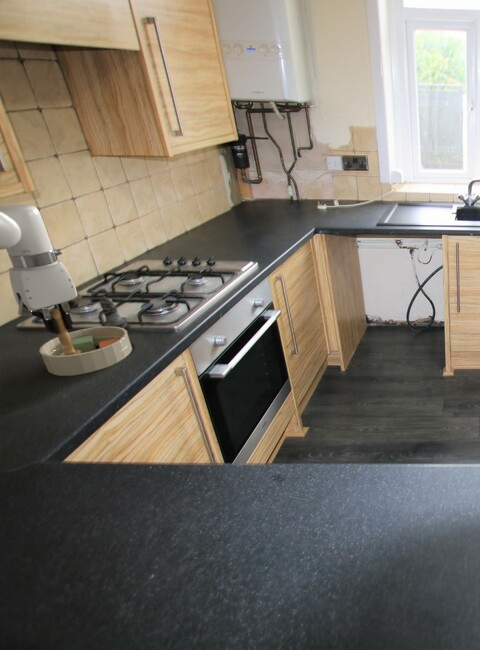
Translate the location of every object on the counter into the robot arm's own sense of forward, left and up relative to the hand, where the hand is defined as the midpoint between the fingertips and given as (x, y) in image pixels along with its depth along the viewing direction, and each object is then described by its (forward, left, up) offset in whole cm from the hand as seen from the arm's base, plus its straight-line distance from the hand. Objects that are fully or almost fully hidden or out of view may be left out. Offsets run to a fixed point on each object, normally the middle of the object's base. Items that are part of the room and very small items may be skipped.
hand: (61, 330), depth 117 cm
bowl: (+3, +2, -11) cm, 11 cm away
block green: (+2, +6, -10) cm, 11 cm away
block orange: (+8, 0, -10) cm, 13 cm away
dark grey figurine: (+9, +18, -11) cm, 23 cm away
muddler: (0, 0, -9) cm, 9 cm away
